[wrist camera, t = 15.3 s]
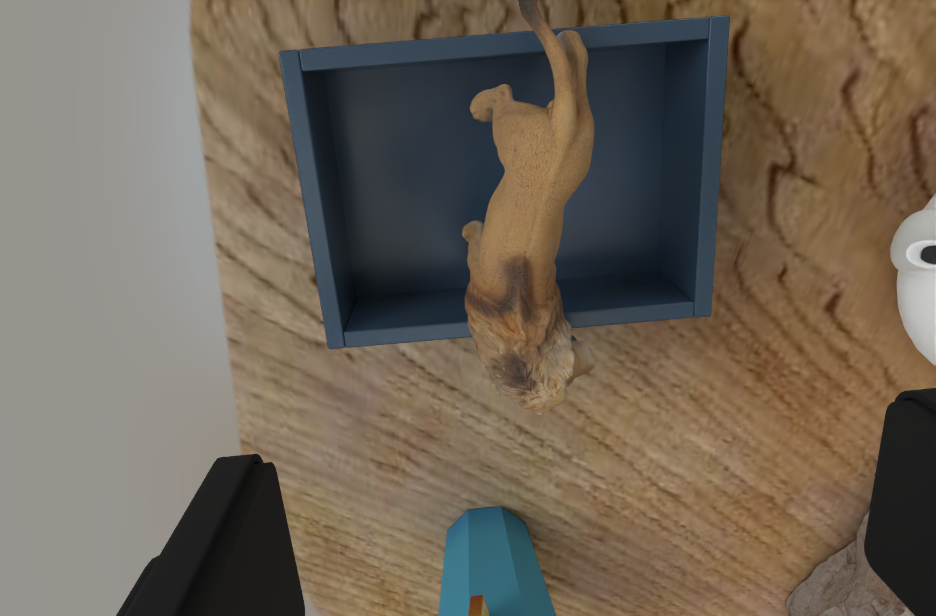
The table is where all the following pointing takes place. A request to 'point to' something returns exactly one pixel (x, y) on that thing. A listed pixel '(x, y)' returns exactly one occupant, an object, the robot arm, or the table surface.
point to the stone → (845, 587)
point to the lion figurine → (530, 230)
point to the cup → (492, 568)
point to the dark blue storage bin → (480, 171)
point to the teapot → (917, 277)
